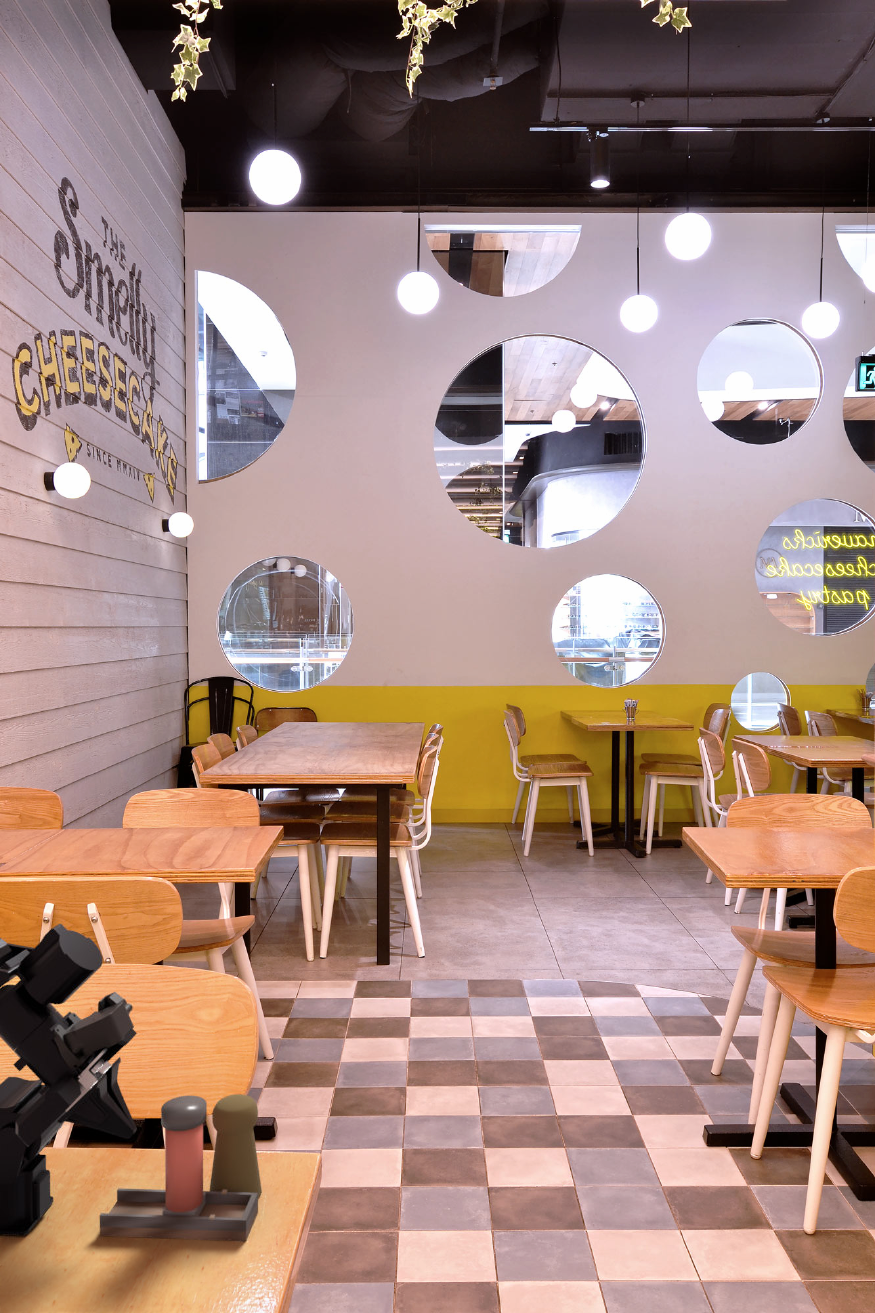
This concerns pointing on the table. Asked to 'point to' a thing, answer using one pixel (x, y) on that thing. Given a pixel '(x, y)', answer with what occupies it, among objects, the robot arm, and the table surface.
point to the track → (145, 1216)
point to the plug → (184, 1155)
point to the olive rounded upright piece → (235, 1146)
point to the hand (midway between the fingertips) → (132, 1134)
